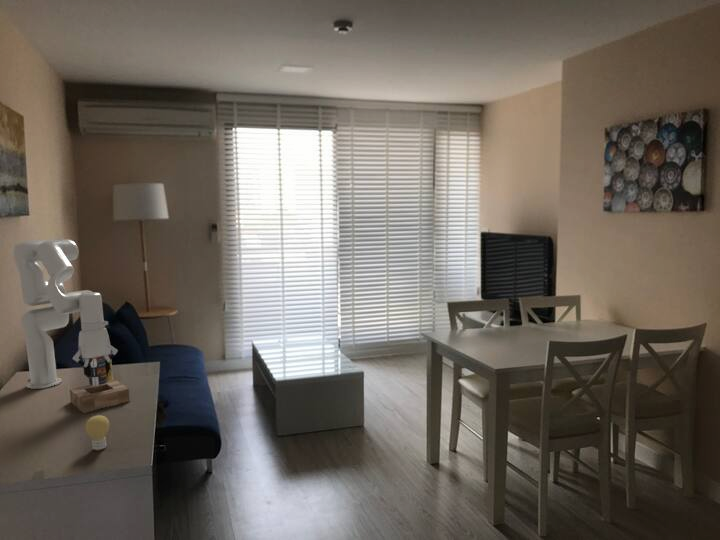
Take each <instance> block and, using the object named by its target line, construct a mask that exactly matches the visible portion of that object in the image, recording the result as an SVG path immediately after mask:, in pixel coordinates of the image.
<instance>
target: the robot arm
mask: <svg viewBox="0 0 720 540" xmlns="http://www.w3.org/2000/svg"><path fill="white" fill-rule="evenodd" d="M79 253H80V251H79V247H78V245H77V243H76V242H75V241H73V240H72V239H66V238H48V239H47V238H46V239H33V240H32V239H31V240H24V241H20V242H18V243H16V244H15V245H14V246H13V249H12V256H13V257H12V258H13V260H14V264H15V266H16V268H17V271H18V273H19V274H18V275H19V279H20V280H19V281H20V288H21V296H22V301H23V303H24V304H25V306H29V307H34V306H35V307H36V306H44V305H49V304H51V306H47V307H40V308H34V309H30V310H27V311H25V312H24V313H23V314H22V315H21V317H20V324H21V328H22V329H23V334H24V337H25V338H24V339H25V343H26V351H27V352H26V353H27V362H28V370H29V377H30V378H29V379H30V381H29V382H27V384H26V388H27V389H29V388H30V389H29V390H39V389H40V390H41V389H47V388H52V387H54V385H55V386H57V385H59V384H61V383H60V382H62V378H61V377H59V376H58V375H57V364H56V358H55V348H54V341H53V338H51V336H50V335H49V334H47V332H48V331H51V330H56V329H61V328H65V327H67V325H68V324H69V321H70V314H74V313H78V312H79V316H80V326H81V327H80V328H81V330H80V331H79V333H78V350H77V352H76V353H75V354H74V355H73V357H72V360H73V361H75V362H76V363H78V364H80V366H83V367H82V368H83V375H84V376H86V377H87V378H89V377H90V369H89V366H88V362H89V360H90V359H91V358H94V357H97V356H103V357H104V359H105V363H106V373H109V370H110V361H112V360H113V358H114V357H115V355H117V353H118V352H119V351H118V349H117V348H115V347H114V346H113V345H111V341H110V336H109V333H108V330H107V328H106V326H108V325H109V321H108V320H105V319H104V310H103V297H102V294H101V293H100V292H95V291H92V290H89V289H85V290H76V291H72V292H71V291H69V292H67V290H66V287H65V285H64V282H66V281H68V280H69V279H71V278H72V276H74V273H75V268H74V266H73V264H72V263H71V261H75V260H77V258H78V257H79ZM38 262H41V264H42V265H43V267H44V269H45V270H46V272H47V274H48V275H49V277H50V278H49V280H45V273H44V269H43V268H42V267H41V265H40V264H39V263H38ZM108 355H109V356H108ZM79 357H80V358H82V360H81V359H80V358H79ZM51 386H52V387H51Z"/></svg>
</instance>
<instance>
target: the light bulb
mask: <svg viewBox="0 0 720 540" xmlns="http://www.w3.org/2000/svg"><path fill="white" fill-rule="evenodd" d="M109 429H110V421H109V419H108V418H107V417H106V416H105V415H101V414H99V415H94V416H92V417H90V418H89V419H87V421H86V423H85V433H86V434H87V435H88V436H89V437H90V438H91V444H92V449H93V450H94V451H101V450H104V449H105V448H106V447H107V440H106V439H107V438H106V435H107V433H108V432H109Z"/></svg>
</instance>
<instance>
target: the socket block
mask: <svg viewBox="0 0 720 540" xmlns="http://www.w3.org/2000/svg"><path fill="white" fill-rule="evenodd" d="M69 395H70V396H69V398H70V403H71V402H72V403H73V404H74V407H75V408H77V409H78V408H79V409H80V410H81V411H82V412H83V413H82V412H81V411H80V410H79V409H78V410H79V411H80V412H81V413H82V414H85V413H84V412H87V411H91V410H95V409H99V410H101V409H100V408H103V409H106V408H105V407H107V408H109V407H110V406H111V407H113V406H118V405H122V404H126V403H130V402H131V399H130V388H128V387H127V386H125V385H124V384H122V383H121V382H120V381H118V380H116V379H114V378H113V380H110V381H107V383H105V384H103V385H98V386H91V385H90V384H88V385H83V386H79V387H74V388H70V389H69ZM125 402H126V403H125ZM121 403H122V404H121ZM73 404H72V405H73ZM95 411H96V410H95ZM91 412H92V411H91ZM87 413H88V412H87Z"/></svg>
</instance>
